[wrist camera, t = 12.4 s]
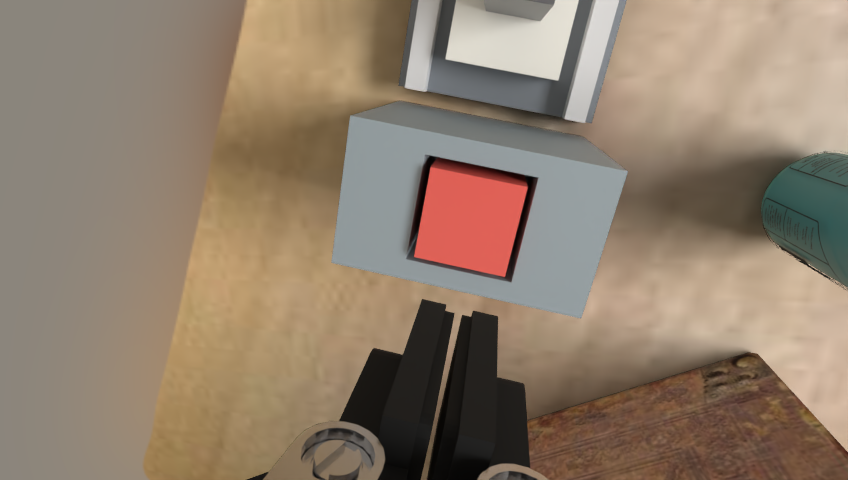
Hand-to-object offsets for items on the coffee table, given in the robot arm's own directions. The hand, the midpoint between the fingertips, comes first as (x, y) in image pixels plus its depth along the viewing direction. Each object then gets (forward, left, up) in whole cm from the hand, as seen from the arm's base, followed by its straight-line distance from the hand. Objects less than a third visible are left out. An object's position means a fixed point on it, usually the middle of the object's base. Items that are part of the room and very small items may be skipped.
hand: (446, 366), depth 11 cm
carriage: (-10, 0, -23) cm, 25 cm away
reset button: (0, 0, -16) cm, 16 cm away
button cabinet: (0, 0, -24) cm, 24 cm away
